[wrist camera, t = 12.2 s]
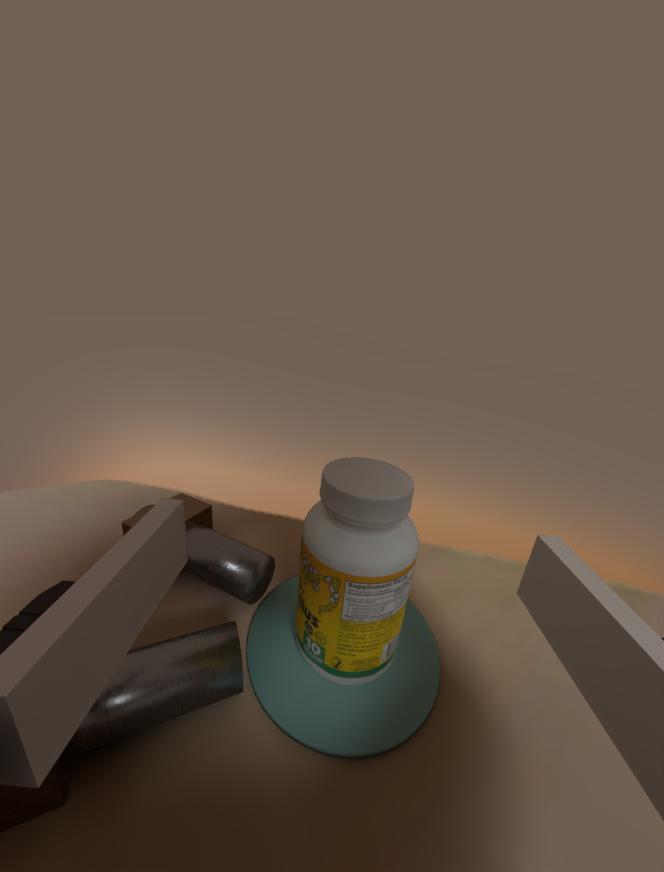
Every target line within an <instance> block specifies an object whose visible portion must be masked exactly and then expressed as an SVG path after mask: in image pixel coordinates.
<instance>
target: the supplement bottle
mask: <svg viewBox="0 0 664 872" xmlns="http://www.w3.org/2000/svg"><path fill="white" fill-rule="evenodd" d="M413 491H414V483H413V480H412V479H411V477H410V476H409V475H408V474H407V473H406V472H404V471H403V470H402V469H400V468H398V467H396V466H394V465H392V464H389V463H386V462H383V461H379V460H374V459H368V458H358V457H356V458H355V457H354V458H342V459H338V460H334V461H332V462H330V463H329V464H327V465H326V466H325V468H324V470H323V473H322V480H321V487H320V497H321V501H319V502H318V503H316V504H315V505H314V506H313V507H312V509H311V510H310V511H309V512H308V514H307V516H306V518H305V521H304V525H303V532H302V543H301V556H300V573H299V589H298V599H297V613H296V627H295V633H296V641H297V645H298V649H299V651H300V653H301V655H302V657H303V658H304V660H305V661H306V662H307V663H308V664H309V665H310V666H311V667H312V668H313V670H314V671H316V672H317V673H318V674H319V675H320V676H321V677H323V678H325V679H327V680H329V681H331V682H334V683H336V684H339V685H348V686H354V685H361V684H365V683H368V682H371V681H373V680H375V679H377V678H378V677H379V676H380V675H382V674H383V673H384V672H385V671H386V670H387V668H388V667H389V666H390V664H391V662H392V660H393V658H394V655H395V652H396V648H397V644H398V640H399V636H400V631H401V627H402V622H403V617H404V613H405V608H406V604H407V599H408V595H409V590H410V586H411V581H412V577H413V572H414V568H415V563H416V558H417V553H418V547H419V540H418V534H417V531H416V528H415V526H414V524H413V522H412V521H411V519H410V518H409V517H408V513H409V512H410V509H411V502H412V496H413Z"/></svg>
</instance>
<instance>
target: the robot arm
mask: <svg viewBox="0 0 664 872" xmlns="http://www.w3.org/2000/svg"><path fill="white" fill-rule="evenodd" d="M186 562H187V547H186V532H185V518H184V503H183V500H176V499H166V498H162V499H161V500H160V501H159V502H158V503H157V504H156V505H155V506H154V507H153V508H152V509H151V510H150V511H149V512H148V513H147V514H146V515H145V516H144V517H143V518H142V519H141V520H140V521H139V522H137V523H136V524H135V525H134V526H133V527H132V528H131V529H130V530H129V531H128V532H127V533H126V534H125V535H124V536H123V537H122V538H121V539H120V540H119V541H118V542H117V543H116V544H115V545H114V546H113V547H112V548H111V549H110V550H109V551H107V552H106V553H105V554H104V555H103V556H102V557H101V558H100V559H99V560H98V561H97V562H96V563H95V564H94V565H93V566H92V567H91V568H90V569H89V570H88V571H87V572H86V573H85V574H84V575H83V576H82V577H81V578H80V579H79V580H77V581H76V582H73V581H61V582H60V583H58V584H56V585H55V586H53V587H51V588H49V589H48V590H46V591H44V592H43V593H41V594H39V595H38V596H37V597H36V598H35V599H34V600H32V601H31V602H30V603H29V604H28V605H27V606H26V607H25V608H23V609H22V610H21V611H20V612H19V615H18V616H15V617H13V618H12V619H11V620H10V621H9V622H8V623H7V624H6V625H4V626H3V627H2V630H1V631H0V784H1V785H10V786H21V787H31V788H39V787H40V785H41V784H42V782H43V781H44V779H45V778H46V776H47V774H48V773H49V771H50V770H51V768H52V767H53V765H54V764H55V762H56V761H57V759H58V758H59V756H60V755H61V753H62V752H63V750H64V749H65V747H66V746H67V744H68V742H69V741H70V739H71V738H72V736H73V735H74V733H75V732H76V730H77V729H78V727H79V726H80V724H81V723H82V721H83V720H84V718H85V717H86V715H87V713H88V712H89V710H90V709H91V707H92V706H93V704H94V703H95V701H96V700H97V698H98V697H99V695H100V694H101V692H102V691H103V689H104V688H105V686H106V684H107V683H108V681H109V680H110V678H111V677H112V675H113V674H114V672H115V671H116V669H117V668H118V666H119V665H120V663H121V662H122V660H123V659H124V657H125V656H126V654H127V652H128V651H129V649H130V648H131V646H132V645H133V643H134V642H135V640H136V639H137V637H138V636H139V634H140V633H141V631H142V630H143V628H144V627H145V625H146V623H147V622H148V620H149V619H150V617H151V616H152V614H153V613H154V611H155V610H156V608H157V607H158V605H159V604H160V602H161V601H162V599H163V598H164V596H165V594H166V593H167V591H168V590H169V588H170V587H171V585H172V584H173V582H174V581H175V579H176V578H177V576H178V575H179V573H180V572H181V570H182V569H183V567H184V566H185V564H186ZM517 594H518V596H519V597H520V599H521V600H522V602H523V603H524V605H525V607H526V608H527V610H528V611H529V613H530V614H531V616H532V617H533V619H534V621H535V622H536V624H537V625H538V627H539V628H540V630H541V631H542V633H543V634H544V636H545V638H546V639H547V641H548V642H549V644H550V645H551V647H552V648H553V650H554V652H555V653H556V655H557V656H558V658H559V659H560V661H561V662H562V664H563V665H564V667H565V669H566V670H567V672H568V673H569V675H570V676H571V678H572V679H573V681H574V682H575V684H576V686H577V687H578V689H579V690H580V692H581V693H582V695H583V696H584V698H585V700H586V701H587V703H588V704H589V706H590V707H591V709H592V710H593V712H594V713H595V715H596V717H597V718H598V720H599V721H600V723H601V724H602V726H603V727H604V729H605V731H606V732H607V734H608V735H609V737H610V738H611V740H612V741H613V743H614V744H615V746H616V748H617V749H618V751H619V752H620V754H621V755H622V757H623V758H624V760H625V761H626V763H627V765H628V766H629V768H630V769H631V771H632V772H633V774H634V775H635V777H636V779H637V780H638V782H639V783H640V785H641V786H642V788H643V789H644V791H645V792H646V794H647V796H648V797H649V799H650V800H651V802H652V803H653V805H654V806H655V808H656V809H657V811H658V813H659V814H660V816H661V817H662V819H663V820H664V638H660V637H659V636H658V635H657V634H656V633H655V632H654V631H653V630H652V629H651V628H650V627H649V626H648V625H647V624H646V623H645V622H644V621H643V620H642V619H641V618H640V617H639V616H638V615H637V614H636V613H635V612H634V611H633V610H632V609H631V608H630V607H629V606H628V605H627V604H626V603H625V602H624V601H623V600H622V599H621V598H620V597H619V596H618V595H617V594H616V593H615V592H614V591H613V590H612V589H611V588H610V587H609V586H608V585H607V584H606V583H605V582H604V581H603V580H602V579H601V578H600V577H599V576H598V575H597V574H596V573H595V572H594V571H593V570H591V569H590V568H589V567H588V566H587V565H586V564H585V563H584V562H583V561H582V560H581V559H580V558H579V557H578V556H577V555H576V554H575V553H574V552H573V551H572V550H571V549H570V548H569V547H568V546H567V545H566V544H565V543H564V542H563V541H562V540H561V539H560V538H559V537H555V536H545V535H537V538H536V541H535V544H534V547H533V549H532V552H531V555H530V558H529V561H528V563H527V566H526V569H525V572H524V574H523V577H522V580H521V583H520V586H519V588H518V591H517Z"/></svg>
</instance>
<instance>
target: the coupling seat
mask: <svg viewBox="0 0 664 872" xmlns="http://www.w3.org/2000/svg"><path fill="white" fill-rule="evenodd" d="M298 589H299V575H298V576H295V577H293V578H291V579H289V580H287V581H286V582H284V583H283V584H281V585H280V586H279V587H277V588H276V589H275V590H274V591H273V592H272V593H271V594H270V595H269V596H268V597H267V598H266V599H265V600H264V602H263V603H262V605H261V606H260V607H259V609H258V611H257V613H256V615H255V617H254V619H253V622H252V624H251V627H250V631H249V636H248V643H247V664H248V672H249V677H250V681H251V684H252V687H253V690H254V692H255V695H256V697H257V699H258V701H259V702H260V704H261V706H262V708H263V709H264V711H265V712H266V713H267V715H268V716H269V717H270V719H271V720H272V721H273V722H274V723H275V724H276V725H277V726H278V727H279V728H280V729H281V730H282V731H283V732H284V733H285V734H287V735H288V736H289V737H291V738H292V739H294V740H295V741H296V742H298V743H300V744H302V745H304V746H306V747H308V748H309V749H311V750H314V751H317V752H320V753H323V754H326V755H330V756H336V757H342V758H363V757H368V756H374V755H378V754H381V753H384V752H386V751H389V750H392V749H393V748H395V747H397V746H399V745H400V744H402V743H404V742H405V741H406V740H407V739H409V738H410V737H411V736H412V735H413V734H414V733H416V731H417V730H418V729H419V728H420V727H421V725H422V724H423V723H424V722H425V720H426V718H427V716H428V715H429V713H430V711H431V709H432V706H433V703H434V701H435V698H436V695H437V691H438V685H439V680H440V662H439V654H438V650H437V646H436V642H435V640H434V637H433V634H432V632H431V630H430V628H429V626H428V624H427V622H426V621H425V619H424V617H423V616H422V614H421V613H420V612H419V610H418V609H417V608H416V607H415V606H414V604H413V603H412V602H411V601H410V600H409V599H407V604H406V608H405V613H404V617H403V622H402V627H401V631H400V636H399V640H398V644H397V648H396V652H395V655H394V658H393V660H392V662H391V664H390V666H389V667H388V668H387V670H386V671H385V672H384V673H383V674H382V675H380V676H379V677H378V678H377V679H375V680H373V681H371V682H368V683H365V684H361V685H354V686H348V685H339V684H336V683H334V682H331V681H329V680H327V679H325V678H323V677H321V676H320V675H319V674H318V673H317V672H316V671H314V670H313V668H312V667H311V666H310V665H309V664H308V663H307V662H306V661H305V660H304V658H303V657H302V655H301V653H300V651H299V649H298V645H297V641H296V633H295V627H296V613H297V599H298Z"/></svg>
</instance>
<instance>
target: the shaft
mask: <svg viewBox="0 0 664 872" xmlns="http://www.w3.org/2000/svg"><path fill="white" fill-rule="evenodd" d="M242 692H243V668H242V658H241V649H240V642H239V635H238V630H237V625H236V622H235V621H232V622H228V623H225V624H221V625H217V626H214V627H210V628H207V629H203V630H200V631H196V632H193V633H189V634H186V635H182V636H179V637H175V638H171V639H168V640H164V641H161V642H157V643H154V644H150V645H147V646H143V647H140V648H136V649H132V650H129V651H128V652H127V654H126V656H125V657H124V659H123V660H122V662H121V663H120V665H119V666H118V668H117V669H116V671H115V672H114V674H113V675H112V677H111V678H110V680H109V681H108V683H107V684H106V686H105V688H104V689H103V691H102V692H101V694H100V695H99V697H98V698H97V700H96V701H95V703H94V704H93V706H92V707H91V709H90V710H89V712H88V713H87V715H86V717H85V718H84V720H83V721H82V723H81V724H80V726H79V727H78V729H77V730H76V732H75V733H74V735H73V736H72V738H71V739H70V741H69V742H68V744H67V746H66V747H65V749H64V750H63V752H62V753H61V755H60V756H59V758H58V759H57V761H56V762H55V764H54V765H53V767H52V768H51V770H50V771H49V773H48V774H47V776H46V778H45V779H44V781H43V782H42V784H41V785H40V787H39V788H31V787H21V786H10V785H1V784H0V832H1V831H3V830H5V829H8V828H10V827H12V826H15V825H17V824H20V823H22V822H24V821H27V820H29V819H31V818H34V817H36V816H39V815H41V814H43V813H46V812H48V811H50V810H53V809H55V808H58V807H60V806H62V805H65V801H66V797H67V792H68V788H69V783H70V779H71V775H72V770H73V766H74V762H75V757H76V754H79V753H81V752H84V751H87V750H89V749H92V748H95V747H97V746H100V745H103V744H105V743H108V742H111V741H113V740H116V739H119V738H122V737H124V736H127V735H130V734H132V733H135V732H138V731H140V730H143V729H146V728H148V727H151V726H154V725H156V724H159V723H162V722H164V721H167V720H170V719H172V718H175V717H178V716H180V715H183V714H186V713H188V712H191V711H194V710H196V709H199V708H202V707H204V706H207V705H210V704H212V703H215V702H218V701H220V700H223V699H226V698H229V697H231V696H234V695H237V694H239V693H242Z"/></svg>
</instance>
